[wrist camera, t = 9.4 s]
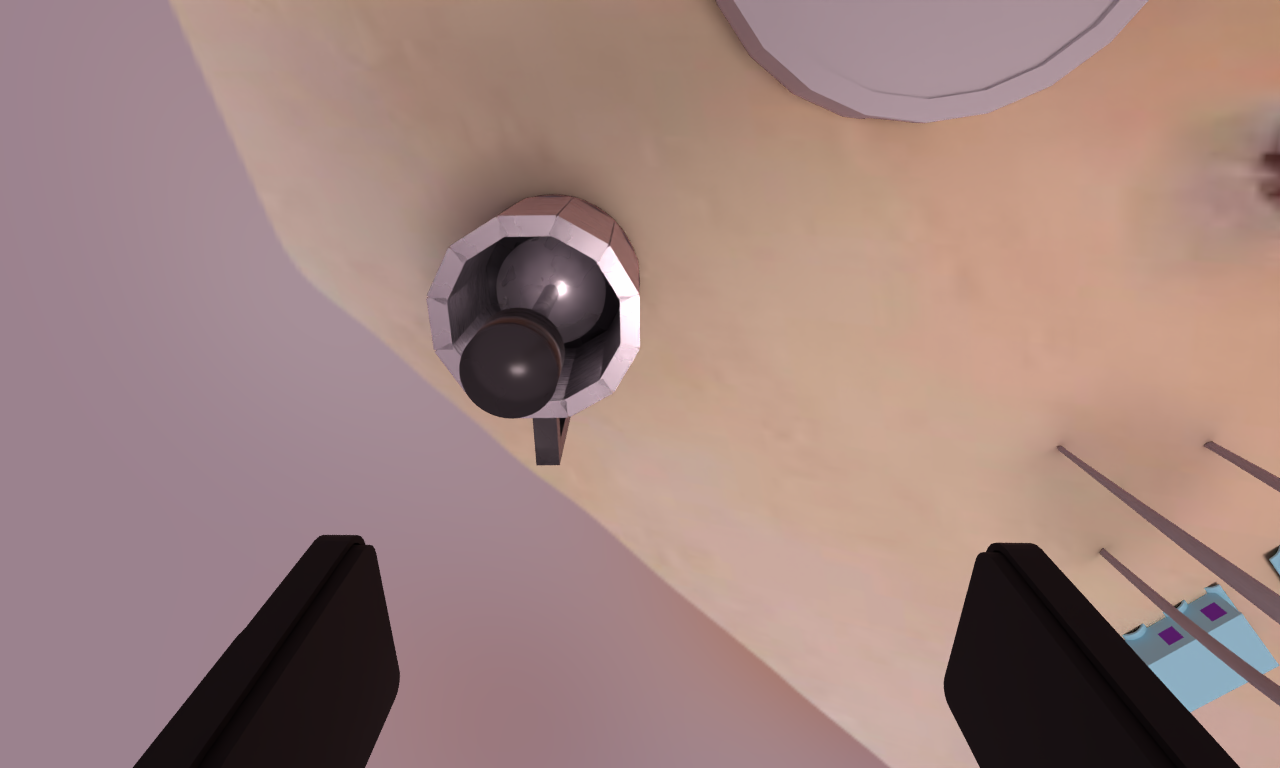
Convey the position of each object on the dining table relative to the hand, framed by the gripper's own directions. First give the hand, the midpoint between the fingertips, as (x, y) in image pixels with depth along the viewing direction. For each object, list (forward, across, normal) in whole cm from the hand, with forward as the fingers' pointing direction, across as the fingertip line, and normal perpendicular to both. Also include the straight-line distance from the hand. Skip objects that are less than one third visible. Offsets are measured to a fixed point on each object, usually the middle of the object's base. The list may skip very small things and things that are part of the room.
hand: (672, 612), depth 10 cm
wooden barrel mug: (+29, +6, +3) cm, 30 cm away
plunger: (+27, +6, +2) cm, 27 cm away
